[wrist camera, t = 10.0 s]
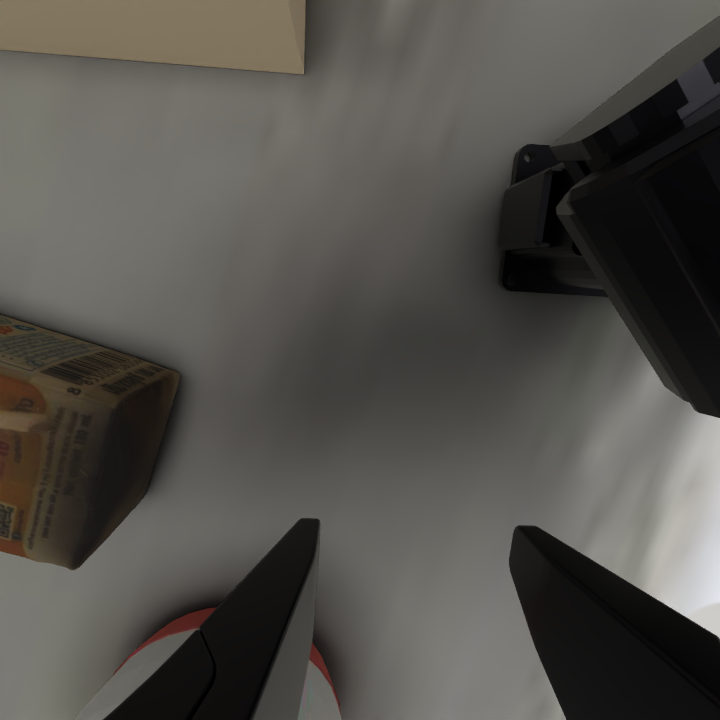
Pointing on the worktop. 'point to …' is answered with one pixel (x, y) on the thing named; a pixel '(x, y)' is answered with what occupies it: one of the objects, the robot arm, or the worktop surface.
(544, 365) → the worktop surface
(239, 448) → the worktop surface
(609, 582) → the robot arm
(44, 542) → the beverage carton
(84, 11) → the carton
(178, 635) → the citrus juicer
